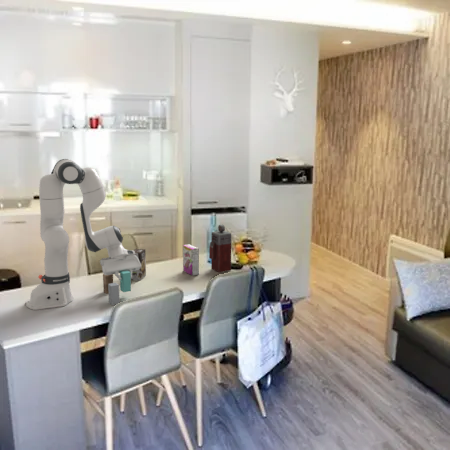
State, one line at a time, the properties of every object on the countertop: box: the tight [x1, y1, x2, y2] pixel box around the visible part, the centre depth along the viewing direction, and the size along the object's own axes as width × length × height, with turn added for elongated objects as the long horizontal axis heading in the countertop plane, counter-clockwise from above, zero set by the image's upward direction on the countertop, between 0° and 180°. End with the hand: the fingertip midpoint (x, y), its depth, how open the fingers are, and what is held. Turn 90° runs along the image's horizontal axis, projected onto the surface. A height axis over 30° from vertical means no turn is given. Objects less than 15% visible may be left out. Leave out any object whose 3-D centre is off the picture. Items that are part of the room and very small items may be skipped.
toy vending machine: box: [208, 224, 232, 273], centre depth 311 cm, size 9×11×28 cm
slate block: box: [108, 282, 121, 306], centre depth 256 cm, size 4×4×10 cm
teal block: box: [119, 271, 132, 293], centre depth 264 cm, size 4×4×10 cm
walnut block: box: [102, 273, 114, 295], centre depth 272 cm, size 4×4×10 cm
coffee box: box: [131, 248, 147, 281], centre depth 296 cm, size 9×6×16 cm
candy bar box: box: [182, 243, 200, 277], centre depth 305 cm, size 11×5×16 cm, turn 34°
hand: (125, 279), depth 263 cm, fingers closed on teal block, 4 cm apart
